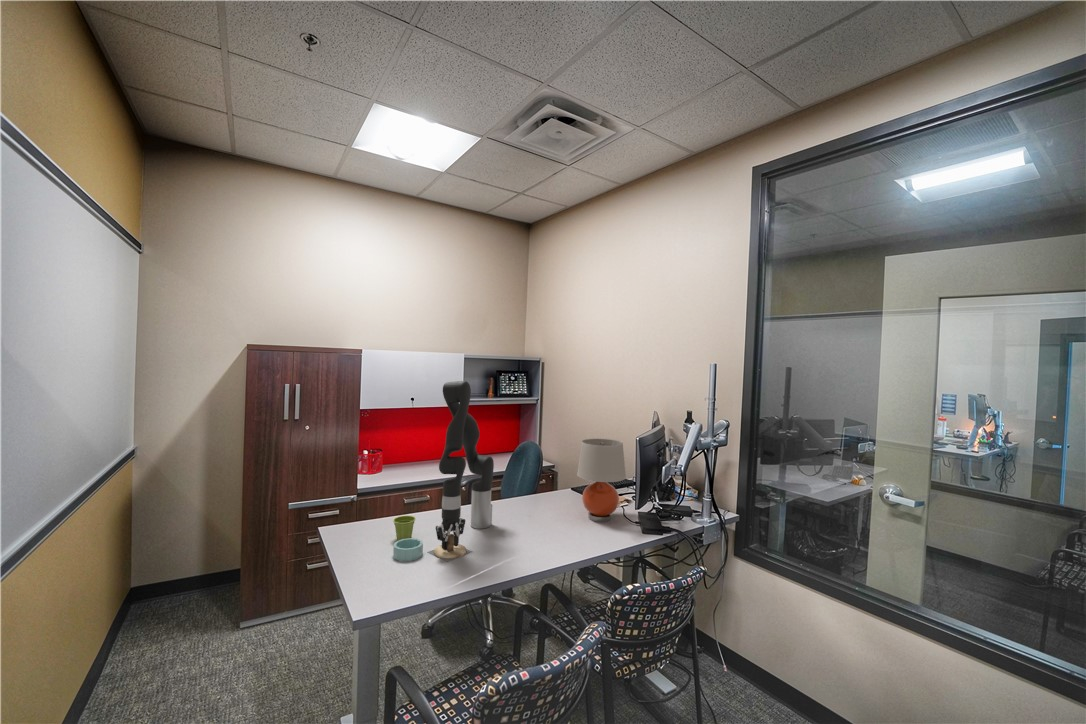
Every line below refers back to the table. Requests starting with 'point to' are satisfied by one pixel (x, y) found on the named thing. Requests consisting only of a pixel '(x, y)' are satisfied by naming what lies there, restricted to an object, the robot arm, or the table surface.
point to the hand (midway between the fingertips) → (450, 547)
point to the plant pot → (404, 526)
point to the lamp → (601, 476)
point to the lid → (450, 550)
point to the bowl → (408, 549)
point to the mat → (449, 559)
